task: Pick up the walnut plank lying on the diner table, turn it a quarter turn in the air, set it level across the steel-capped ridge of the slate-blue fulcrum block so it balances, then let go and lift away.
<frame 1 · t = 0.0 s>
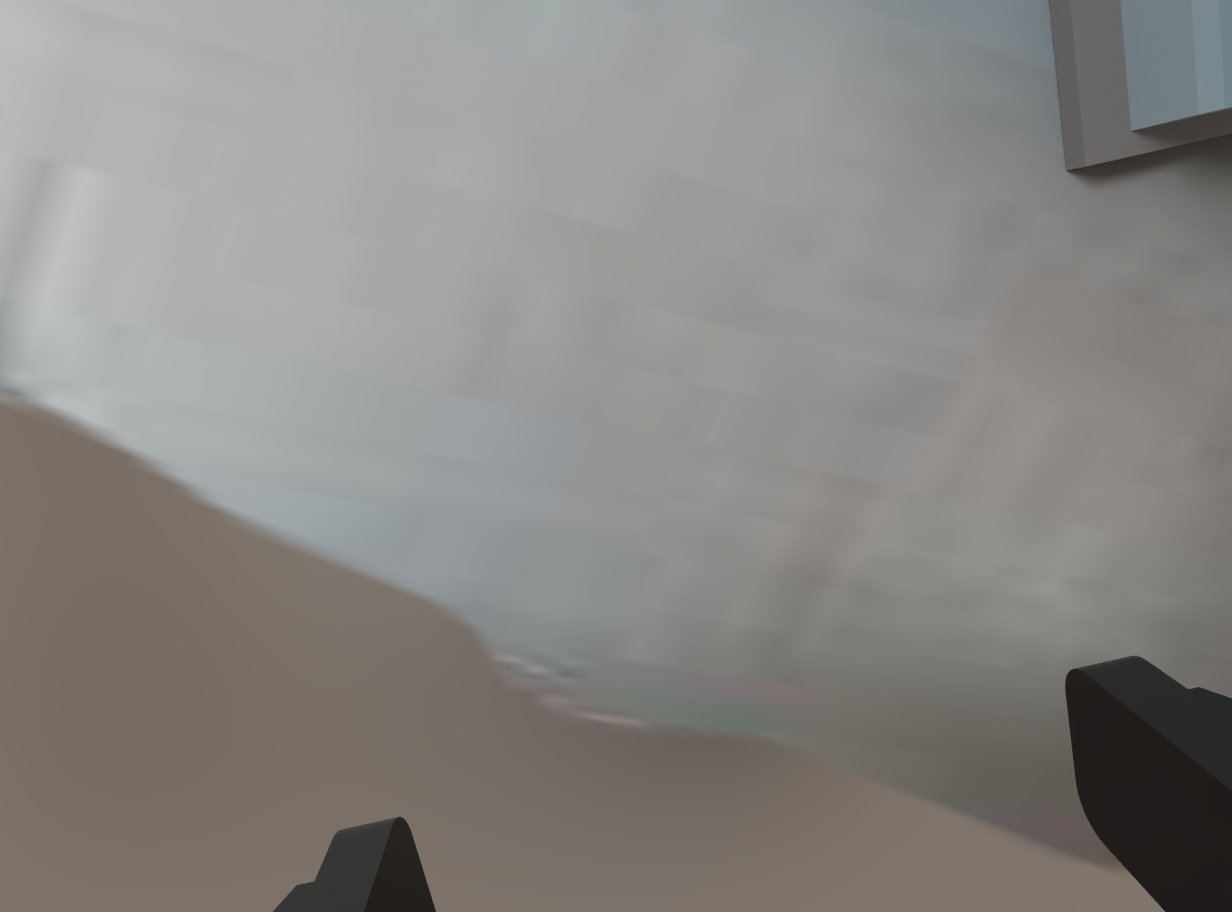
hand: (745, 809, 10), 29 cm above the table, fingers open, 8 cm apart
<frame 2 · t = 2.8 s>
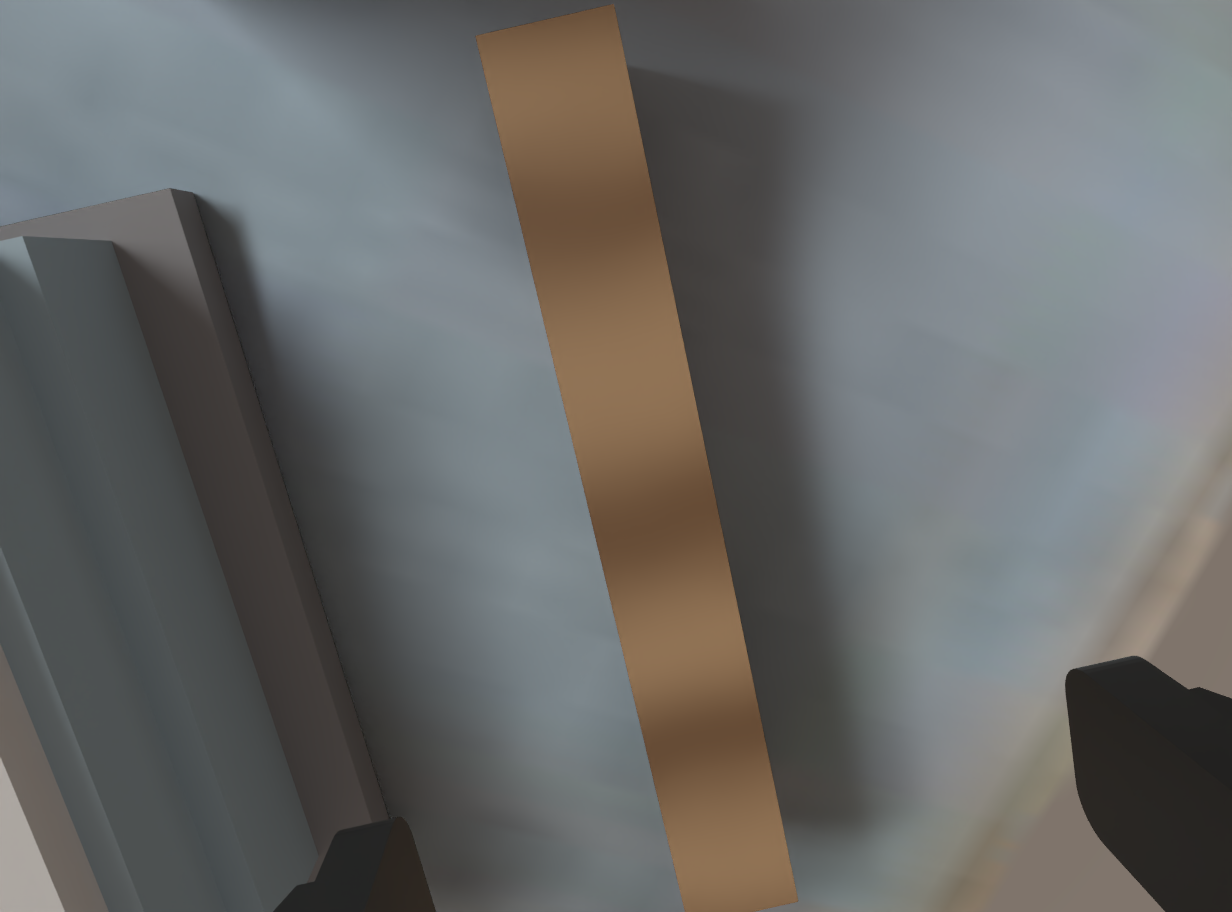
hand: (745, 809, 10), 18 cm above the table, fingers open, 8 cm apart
walnut plank: (639, 466, 28), on the table
fulcrum ridge: (150, 577, 28), on the table
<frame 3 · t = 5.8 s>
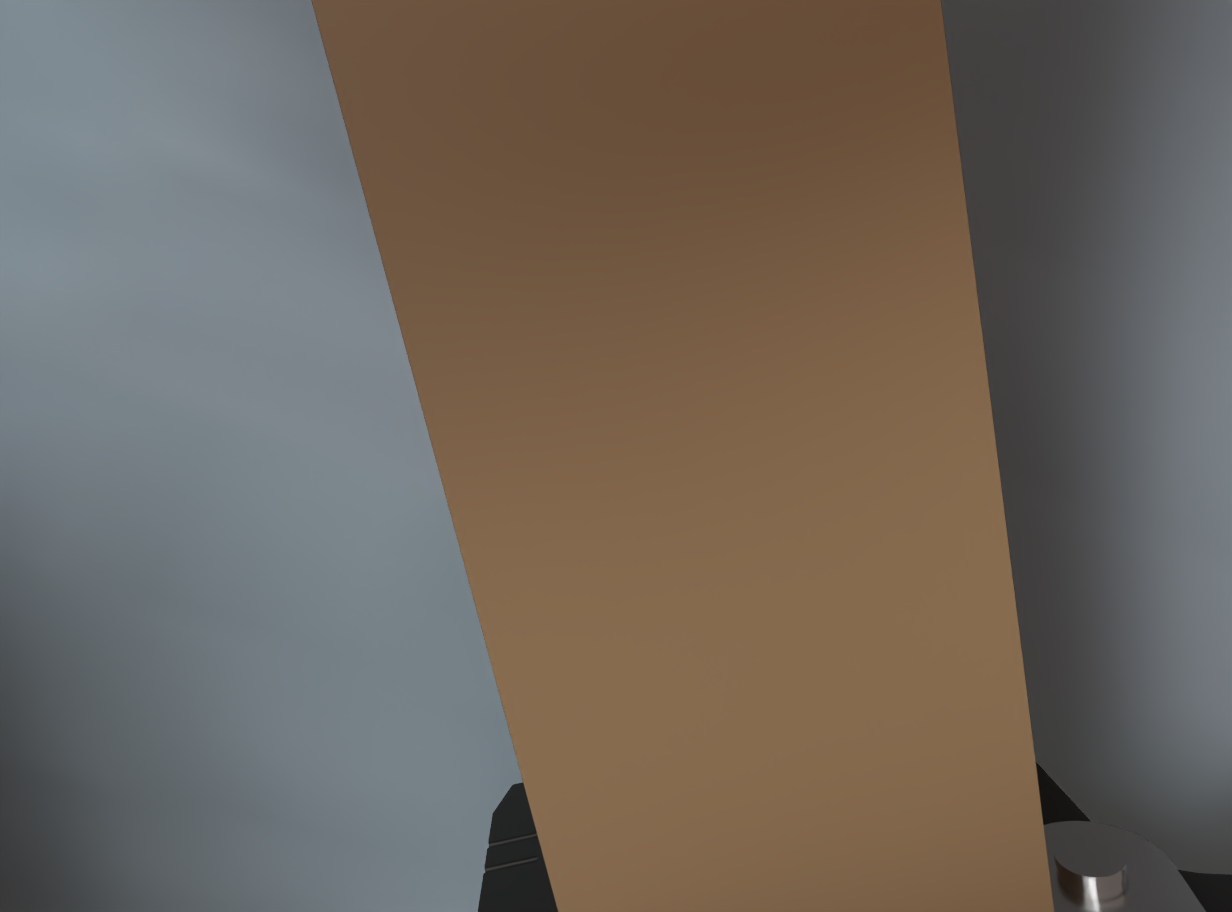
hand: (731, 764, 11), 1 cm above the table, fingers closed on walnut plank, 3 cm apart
walnut plank: (724, 733, 12), on the table, touching gripper
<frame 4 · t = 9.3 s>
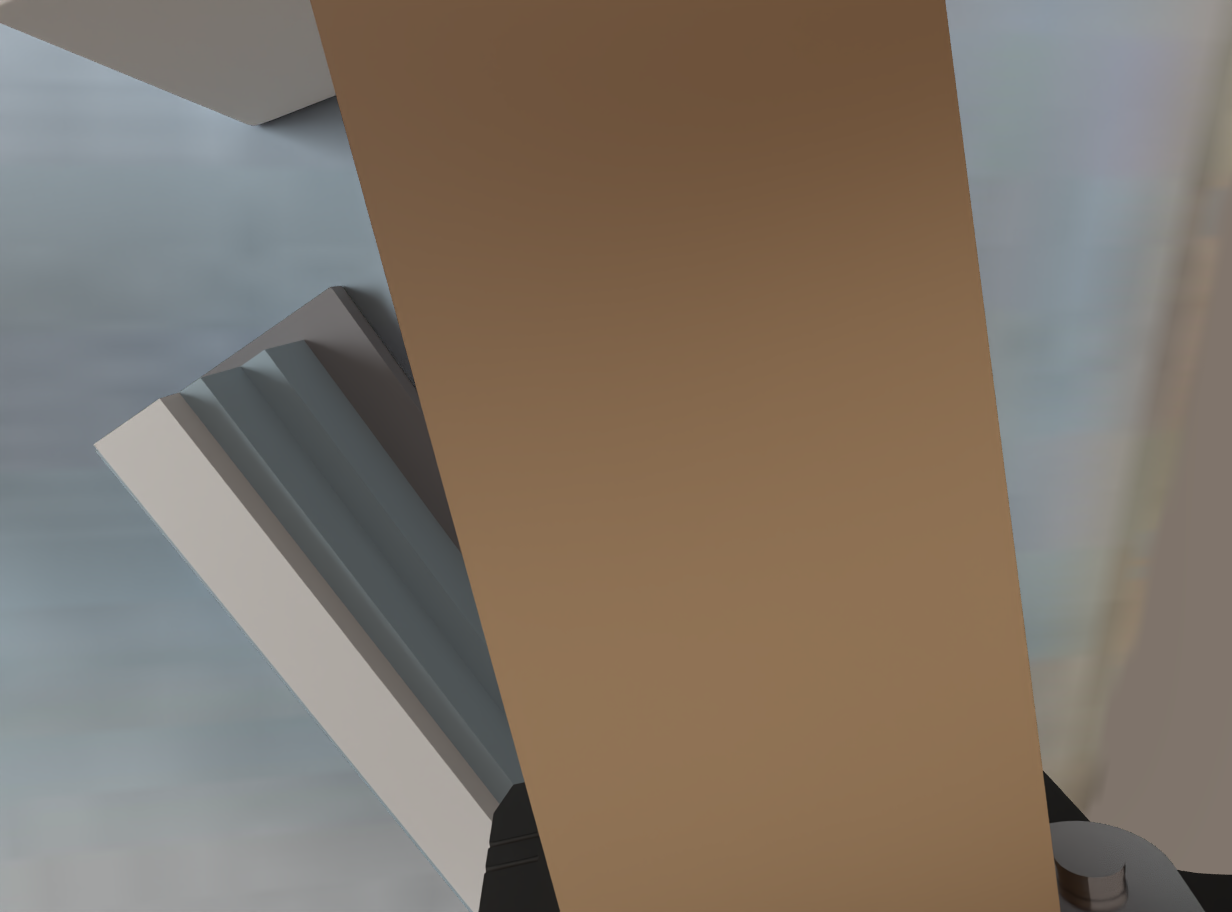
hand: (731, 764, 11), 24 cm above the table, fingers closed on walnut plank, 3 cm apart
walnut plank: (726, 734, 12), point 24 cm above the table, touching gripper
fulcrum ridge: (406, 579, 36), on the table
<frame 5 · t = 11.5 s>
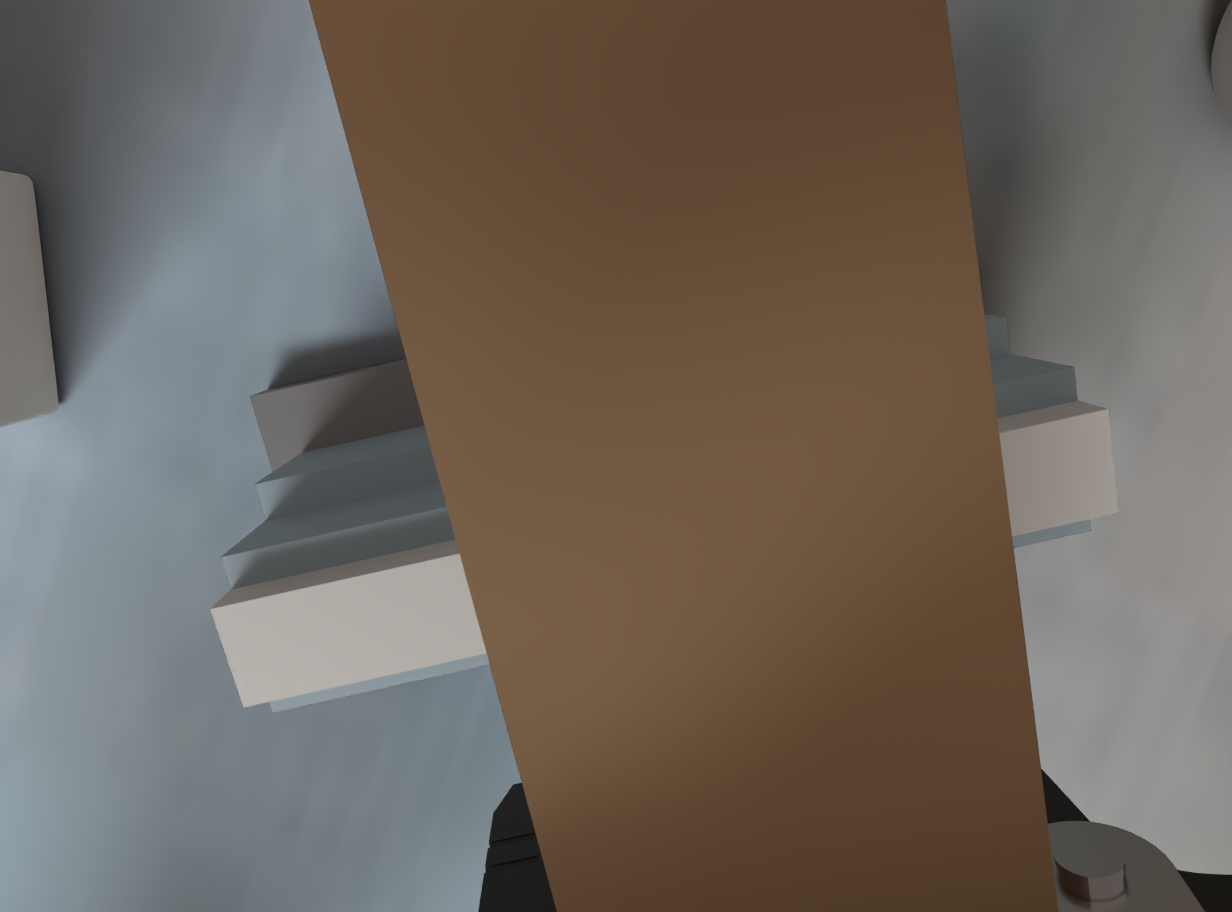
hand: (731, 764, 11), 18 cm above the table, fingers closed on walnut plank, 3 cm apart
walnut plank: (724, 736, 12), point 17 cm above the table, touching gripper
fulcrum ridge: (638, 464, 29), on the table
when the fingers open (11 cm above the table, at t = 13.3 s): walnut plank stays where it is, resting on fulcrum ridge.
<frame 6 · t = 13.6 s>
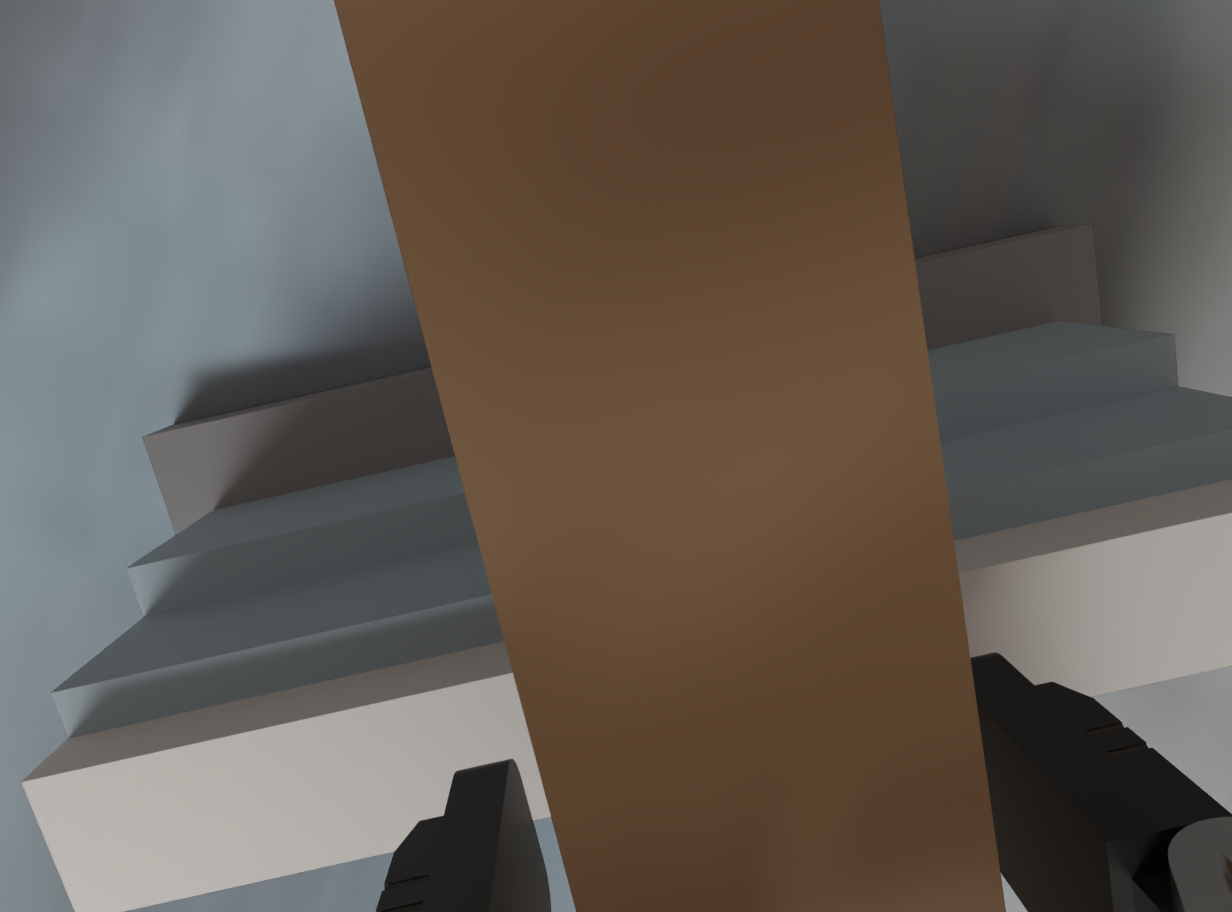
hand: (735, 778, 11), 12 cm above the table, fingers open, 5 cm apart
walnut plank: (713, 709, 13), point 10 cm above the table, touching fulcrum ridge
fulcrum ridge: (655, 519, 22), on the table
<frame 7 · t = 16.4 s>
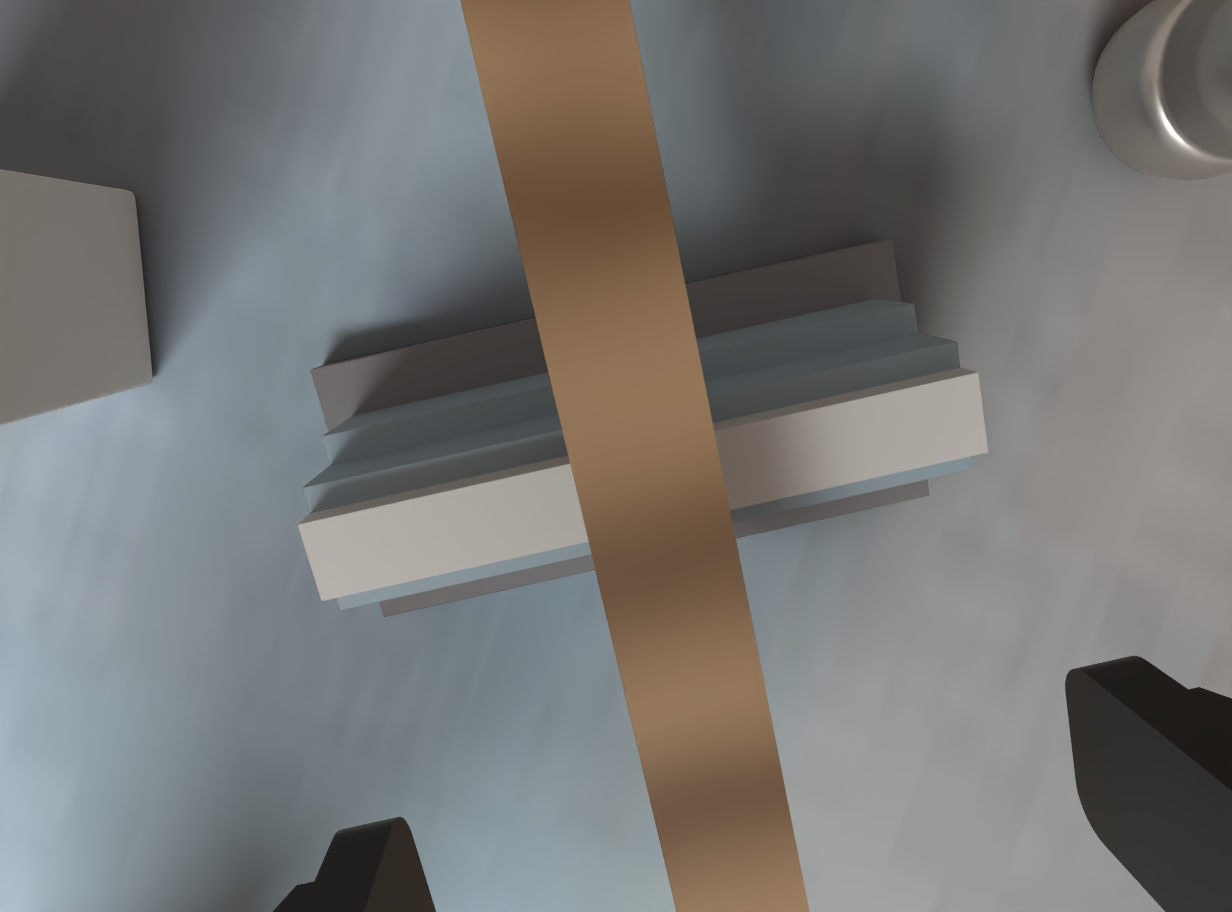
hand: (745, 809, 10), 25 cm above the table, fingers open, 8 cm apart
plastic bottle: (1148, 97, 33), on the table
milk carton: (53, 287, 33), on the table
walnut plank: (645, 489, 25), point 10 cm above the table, touching fulcrum ridge
fulcrum ridge: (627, 427, 35), on the table
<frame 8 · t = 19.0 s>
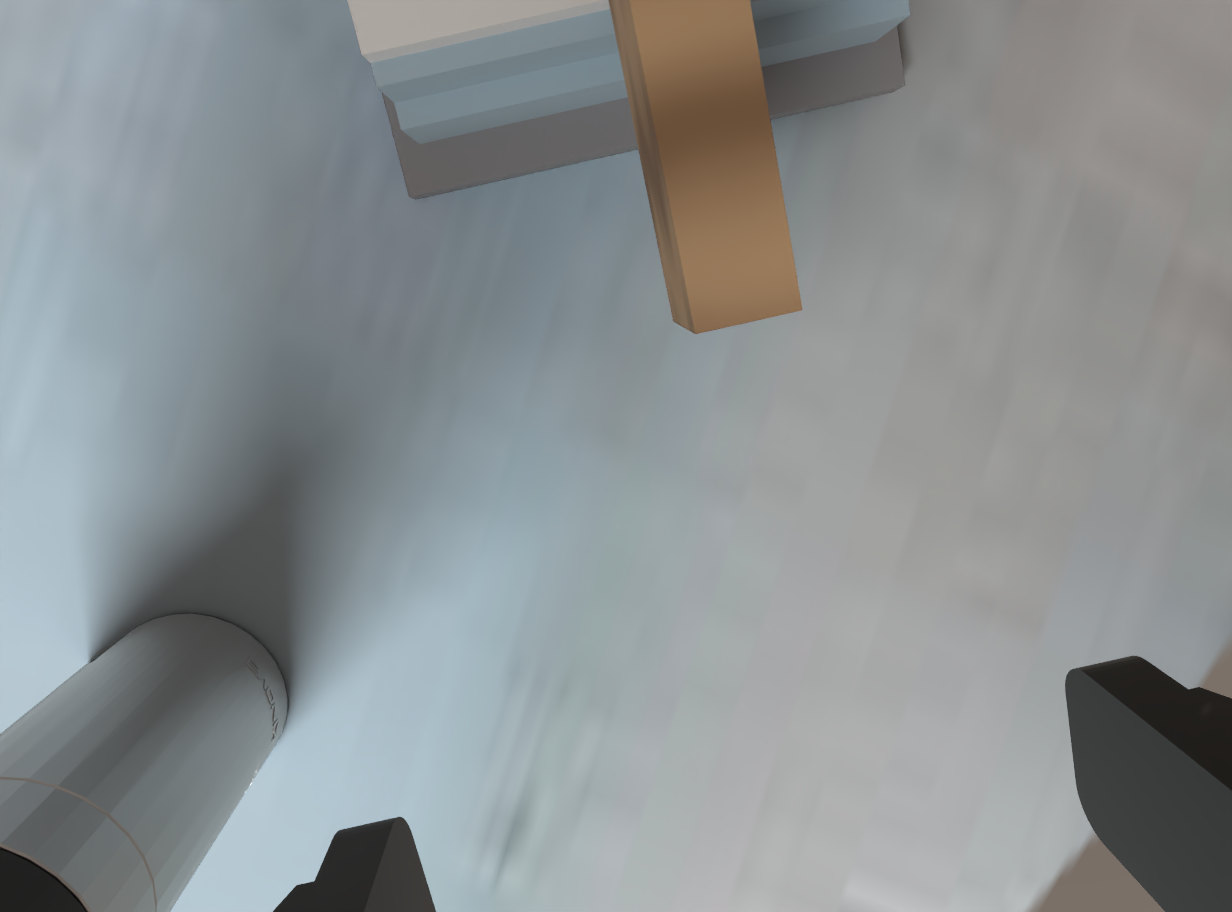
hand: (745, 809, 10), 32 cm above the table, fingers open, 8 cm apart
fulcrum ridge: (630, 27, 38), on the table
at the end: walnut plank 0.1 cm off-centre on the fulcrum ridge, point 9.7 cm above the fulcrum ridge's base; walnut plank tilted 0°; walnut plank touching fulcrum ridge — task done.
